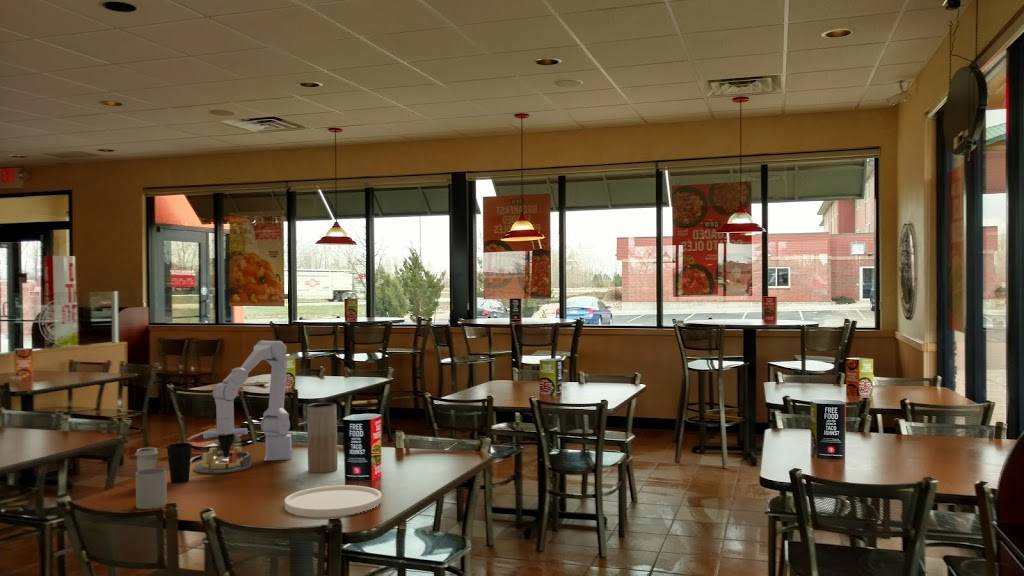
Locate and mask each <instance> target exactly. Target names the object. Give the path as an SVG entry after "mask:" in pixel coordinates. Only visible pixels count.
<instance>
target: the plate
mask: <svg viewBox="0 0 1024 576" xmlns="http://www.w3.org/2000/svg"><path fill="white" fill-rule="evenodd" d="M381 501H382V502H383V494H382V492H381V491H380V490H378V489H376V488H373V487H369V486H364V485H363V486H362V485H350V484H347V485H345V484H344V485H343V484H342V485H341V484H340V485H326V486H318V487H312V488H308V489H307V488H306V489H302V490H299V491H295V492H293V493H291V494H289V495H287V496H286V497H285V498H284V510H285V511H287V512H288V513H289V514H293V515H296V516H301V517H307V518H308V517H311V518H333V517H343V516H351V515H356V513H357V514H361V513H364V512H363V511H365V512H368V511H367V510H369V511H371V510H373V509H372V508H374V509H376V508H377V507H379V506H380V505H381V504H382V502H381ZM380 503H381V504H380ZM379 504H380V505H379ZM378 505H379V506H378ZM376 506H377V507H376ZM375 507H376V508H375ZM370 509H371V510H370ZM360 512H361V513H360Z"/></svg>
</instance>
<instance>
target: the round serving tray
mask: <svg viewBox="0 0 1024 576" xmlns="http://www.w3.org/2000/svg"><path fill="white" fill-rule="evenodd" d="M232 451H233V450H230V451H229V452H232ZM217 455H218V456H219V457H220V456H223V451H217ZM251 456H252V455H251V454H250V452H248V451H243V450H242V457H243V465H241V466H238V467H233V468H226V469H206V468H201V467H200V463H198V464H196V465H195V466H194V472H196V473H198V474H205V475H220V474H231V473H237V472H241V471H245V470H248V469H250V468H251V467H252V461H251V460H252V457H251ZM202 460H203V453H202V454H201V461H202ZM226 462H229V457H223V458H216V459H213V463H226Z"/></svg>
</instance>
